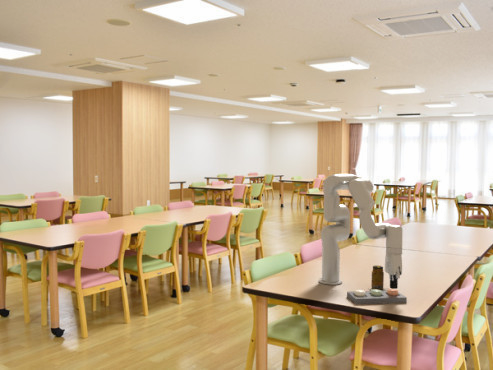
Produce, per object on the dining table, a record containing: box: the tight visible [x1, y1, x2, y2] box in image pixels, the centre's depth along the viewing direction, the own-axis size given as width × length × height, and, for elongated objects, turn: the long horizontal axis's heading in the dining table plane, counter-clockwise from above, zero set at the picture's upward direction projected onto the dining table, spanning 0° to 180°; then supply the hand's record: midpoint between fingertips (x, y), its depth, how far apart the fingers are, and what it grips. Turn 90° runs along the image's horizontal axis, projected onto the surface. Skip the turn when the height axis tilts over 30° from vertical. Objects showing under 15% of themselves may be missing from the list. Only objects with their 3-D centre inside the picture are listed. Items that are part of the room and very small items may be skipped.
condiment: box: [368, 265, 389, 291], centre depth 239 cm, size 7×8×12 cm
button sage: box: [370, 289, 382, 296], centre depth 221 cm, size 5×5×2 cm
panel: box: [346, 290, 408, 305], centre depth 221 cm, size 12×25×2 cm, turn 97°
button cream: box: [354, 289, 366, 297], centre depth 220 cm, size 5×5×2 cm
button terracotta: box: [387, 288, 399, 296], centre depth 222 cm, size 5×5×2 cm
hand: (393, 288), depth 222 cm, fingers closed
